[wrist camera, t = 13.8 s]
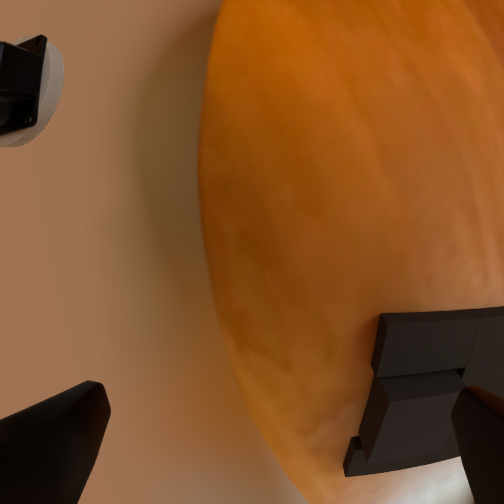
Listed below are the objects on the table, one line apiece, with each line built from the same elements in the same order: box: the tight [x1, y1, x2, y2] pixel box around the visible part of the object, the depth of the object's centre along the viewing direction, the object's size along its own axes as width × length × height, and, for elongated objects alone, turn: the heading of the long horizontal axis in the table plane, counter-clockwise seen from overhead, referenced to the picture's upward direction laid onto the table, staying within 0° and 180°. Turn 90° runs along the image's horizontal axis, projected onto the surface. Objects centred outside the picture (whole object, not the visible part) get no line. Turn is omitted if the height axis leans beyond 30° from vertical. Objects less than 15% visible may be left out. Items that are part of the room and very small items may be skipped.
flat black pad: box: [343, 307, 504, 477], centre depth 19 cm, size 20×15×2 cm
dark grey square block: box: [359, 369, 467, 464], centre depth 19 cm, size 6×6×4 cm
